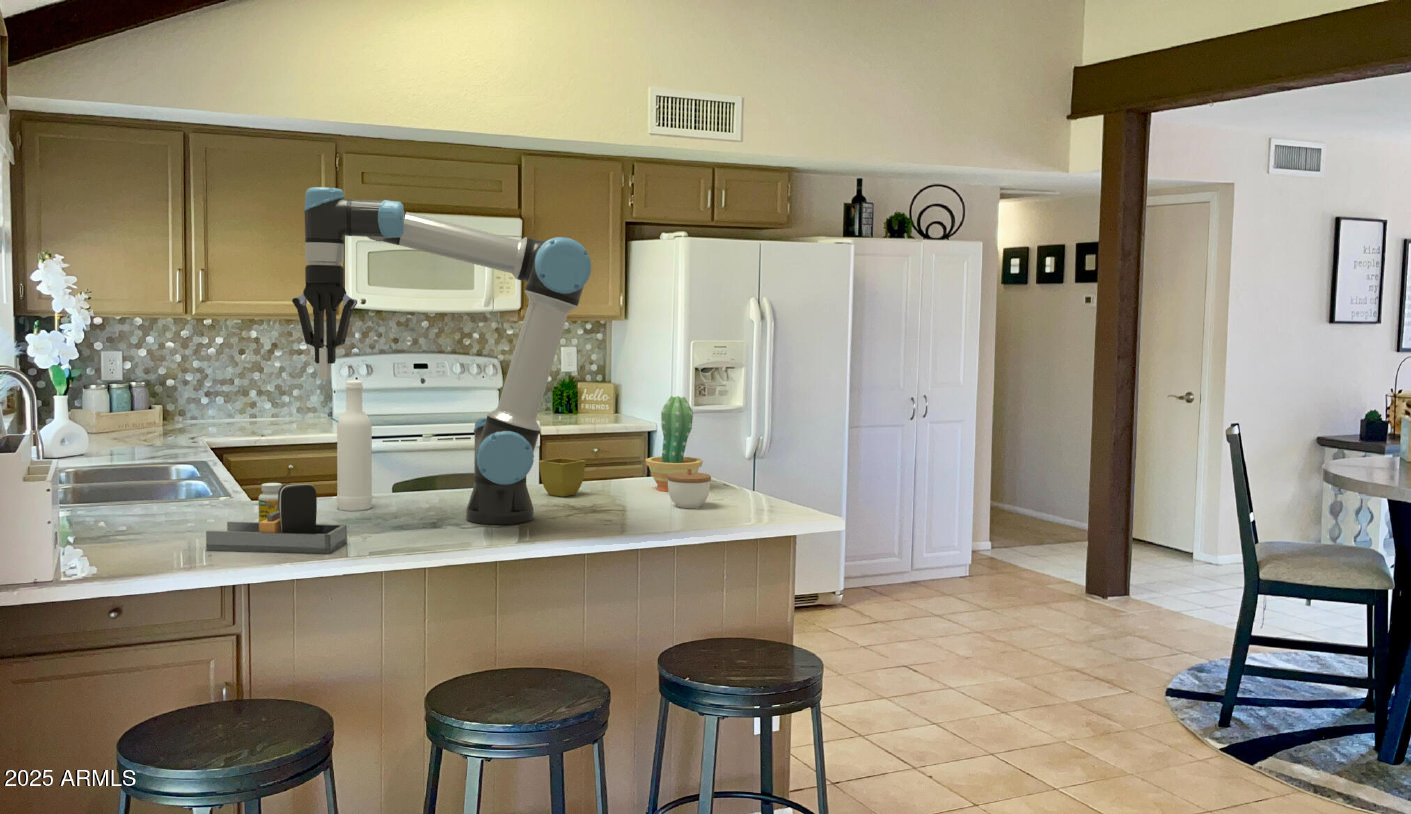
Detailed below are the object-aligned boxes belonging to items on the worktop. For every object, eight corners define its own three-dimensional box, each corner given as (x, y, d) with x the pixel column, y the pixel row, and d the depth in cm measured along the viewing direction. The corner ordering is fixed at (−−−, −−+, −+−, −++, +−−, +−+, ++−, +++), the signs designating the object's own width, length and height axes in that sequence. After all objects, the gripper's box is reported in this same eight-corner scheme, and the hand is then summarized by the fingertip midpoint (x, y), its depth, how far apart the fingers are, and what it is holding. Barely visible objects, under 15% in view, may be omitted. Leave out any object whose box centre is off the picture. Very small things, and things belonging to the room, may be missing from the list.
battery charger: (312, 537, 230) (311, 481, 229) (317, 540, 227) (317, 483, 226) (276, 541, 226) (275, 483, 225) (281, 544, 222) (281, 486, 221)
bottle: (360, 503, 275) (360, 379, 272) (378, 508, 269) (378, 381, 267) (330, 507, 269) (329, 380, 266) (348, 512, 263) (348, 382, 261)
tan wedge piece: (290, 535, 230) (290, 509, 230) (274, 543, 222) (274, 517, 222) (275, 534, 230) (275, 509, 230) (259, 542, 222) (258, 516, 222)
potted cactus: (712, 488, 310) (715, 396, 308) (682, 496, 297) (684, 400, 294) (665, 482, 318) (667, 393, 315) (633, 489, 305) (635, 396, 302)
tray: (346, 543, 231) (346, 524, 231) (329, 553, 221) (329, 534, 221) (229, 539, 231) (228, 521, 231) (206, 550, 221) (206, 531, 221)
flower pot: (537, 495, 293) (537, 460, 292) (560, 491, 300) (560, 457, 299) (563, 499, 288) (563, 463, 287) (586, 494, 295) (586, 460, 294)
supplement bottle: (290, 527, 245) (290, 482, 245) (277, 531, 240) (277, 486, 239) (267, 525, 246) (266, 481, 245) (253, 530, 241) (253, 485, 240)
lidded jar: (702, 501, 289) (703, 465, 288) (716, 509, 279) (717, 471, 278) (661, 503, 286) (662, 465, 285) (673, 510, 275) (674, 472, 275)
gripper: (362, 265, 238) (362, 379, 240) (299, 264, 238) (300, 377, 240) (350, 264, 230) (350, 381, 232) (285, 263, 230) (287, 380, 232)
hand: (325, 379), depth 236 cm, fingers closed
